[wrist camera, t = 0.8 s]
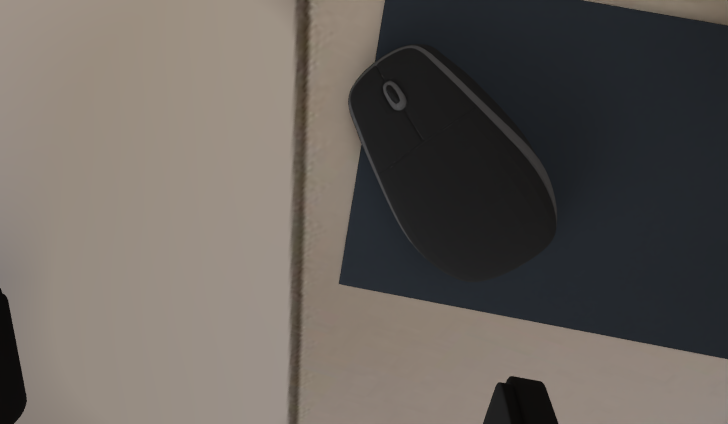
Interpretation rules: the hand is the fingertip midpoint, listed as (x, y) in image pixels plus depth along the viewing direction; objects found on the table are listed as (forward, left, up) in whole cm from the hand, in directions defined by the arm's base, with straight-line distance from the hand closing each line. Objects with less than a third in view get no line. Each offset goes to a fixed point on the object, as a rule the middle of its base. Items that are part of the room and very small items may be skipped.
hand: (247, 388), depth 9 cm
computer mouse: (0, +5, -16) cm, 17 cm away
